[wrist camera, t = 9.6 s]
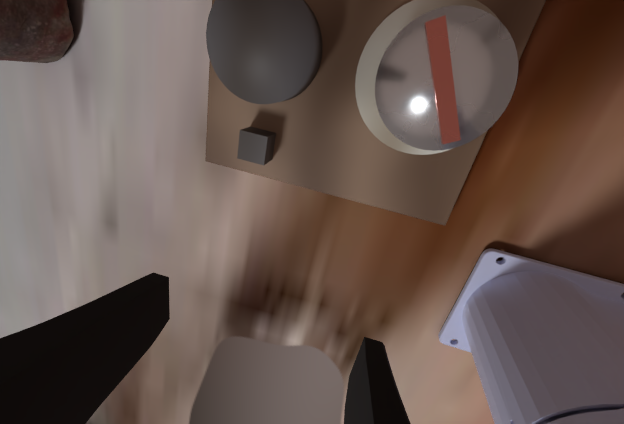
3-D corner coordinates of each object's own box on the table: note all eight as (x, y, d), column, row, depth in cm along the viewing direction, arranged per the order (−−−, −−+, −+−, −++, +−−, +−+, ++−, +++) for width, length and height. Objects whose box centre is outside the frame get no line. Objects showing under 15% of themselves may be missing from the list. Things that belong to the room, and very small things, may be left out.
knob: (483, 118, 14) (525, 133, 10) (387, 142, 16) (388, 165, 12) (473, 10, 13) (518, -24, 9) (367, 48, 14) (361, 34, 10)
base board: (571, -83, 12) (630, -134, 9) (441, 216, 18) (452, 242, 15) (231, -133, 14) (191, -189, 11) (215, 156, 20) (186, 169, 17)
